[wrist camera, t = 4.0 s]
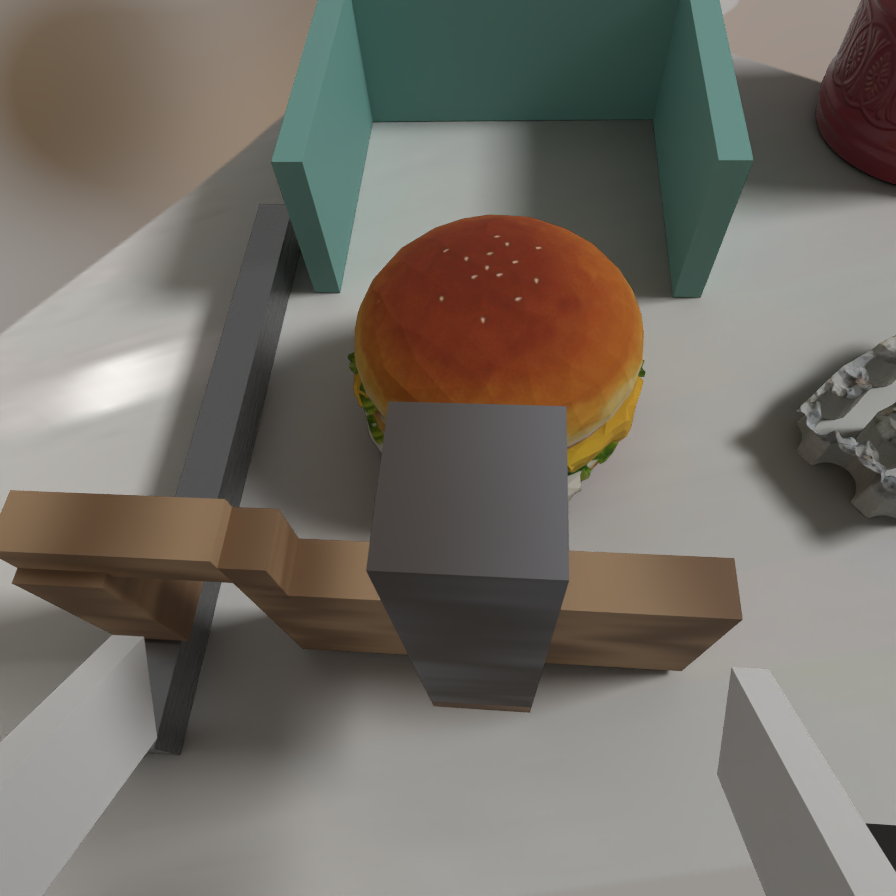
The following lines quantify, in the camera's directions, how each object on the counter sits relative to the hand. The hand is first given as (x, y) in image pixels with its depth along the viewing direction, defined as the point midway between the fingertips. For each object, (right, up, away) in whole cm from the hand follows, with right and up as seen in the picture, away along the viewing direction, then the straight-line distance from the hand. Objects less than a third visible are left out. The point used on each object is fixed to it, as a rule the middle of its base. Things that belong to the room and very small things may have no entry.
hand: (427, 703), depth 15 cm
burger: (+3, +7, +20) cm, 22 cm away
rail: (-11, +6, +20) cm, 23 cm away
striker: (-1, -3, +14) cm, 14 cm away
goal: (+4, +22, +28) cm, 36 cm away
